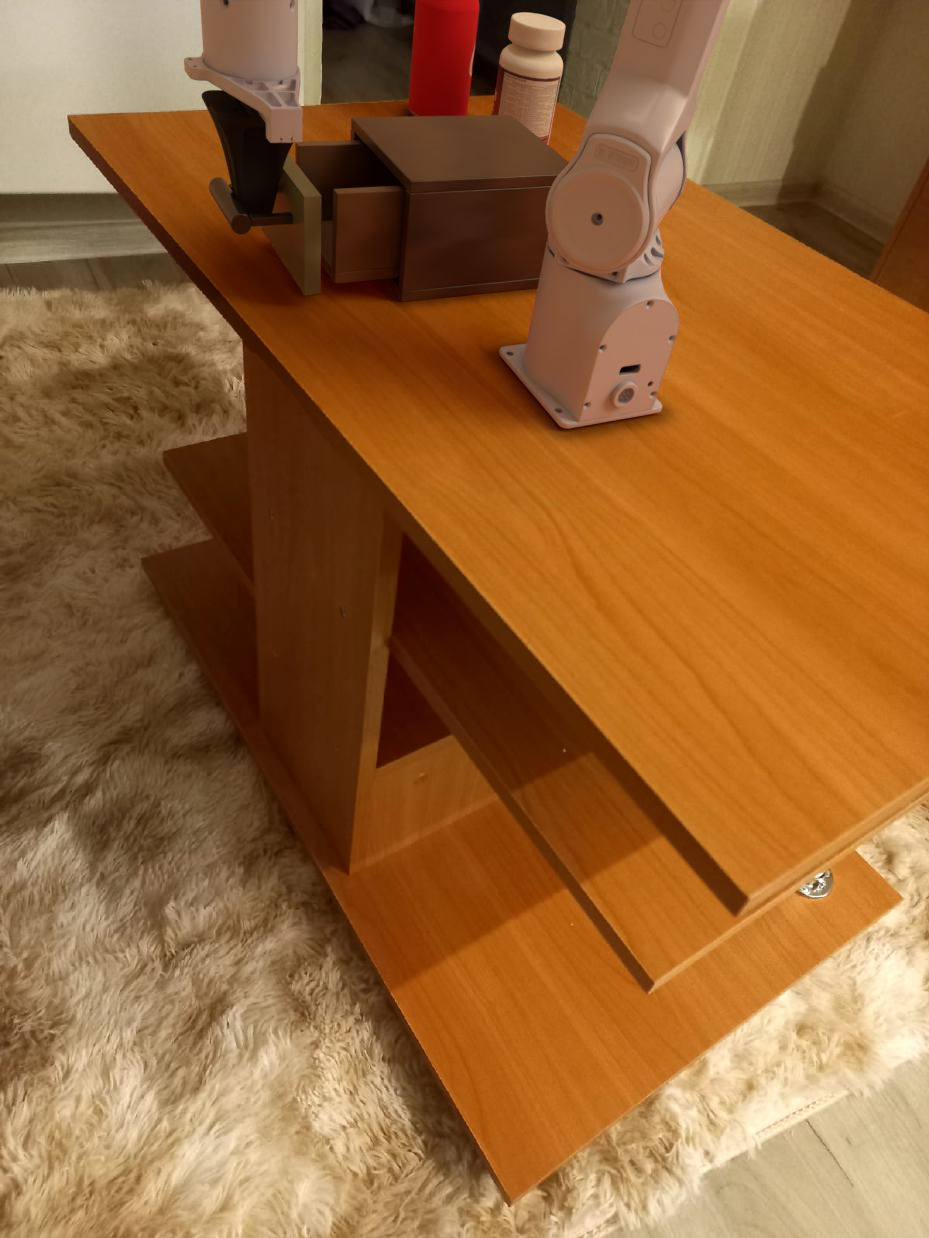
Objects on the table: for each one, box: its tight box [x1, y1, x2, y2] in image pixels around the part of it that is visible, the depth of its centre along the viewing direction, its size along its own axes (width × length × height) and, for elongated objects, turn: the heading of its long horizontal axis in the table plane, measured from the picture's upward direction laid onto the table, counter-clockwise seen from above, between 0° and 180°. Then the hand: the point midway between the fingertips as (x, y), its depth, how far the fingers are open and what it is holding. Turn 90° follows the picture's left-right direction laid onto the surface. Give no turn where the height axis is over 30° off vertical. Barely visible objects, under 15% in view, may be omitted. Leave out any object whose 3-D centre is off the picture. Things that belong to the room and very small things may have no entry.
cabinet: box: [349, 114, 570, 303], centre depth 67 cm, size 14×12×9 cm
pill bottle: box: [491, 11, 566, 146], centre depth 85 cm, size 6×6×11 cm
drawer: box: [208, 139, 406, 296], centre depth 63 cm, size 17×10×7 cm, turn 115°
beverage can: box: [407, 0, 480, 117], centre depth 88 cm, size 6×6×12 cm
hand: (254, 212), depth 61 cm, fingers closed, pressing on drawer
